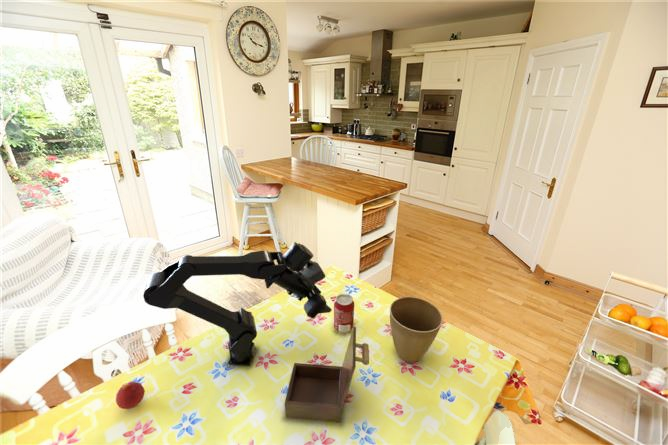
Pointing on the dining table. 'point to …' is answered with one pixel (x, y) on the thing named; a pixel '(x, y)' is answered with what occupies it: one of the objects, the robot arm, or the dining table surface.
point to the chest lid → (351, 363)
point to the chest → (314, 393)
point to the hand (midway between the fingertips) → (325, 301)
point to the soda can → (343, 313)
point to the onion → (130, 395)
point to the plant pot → (413, 326)
